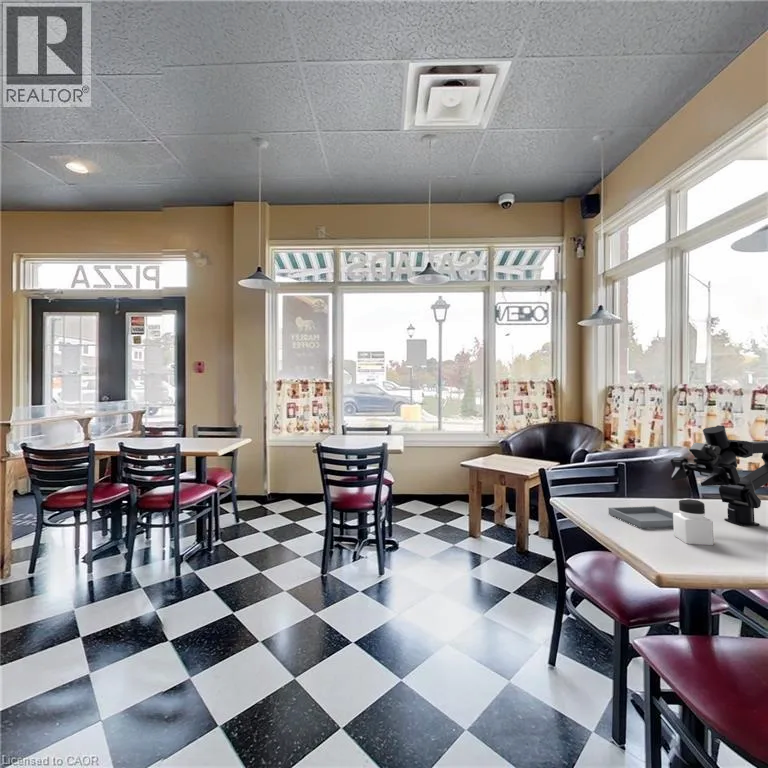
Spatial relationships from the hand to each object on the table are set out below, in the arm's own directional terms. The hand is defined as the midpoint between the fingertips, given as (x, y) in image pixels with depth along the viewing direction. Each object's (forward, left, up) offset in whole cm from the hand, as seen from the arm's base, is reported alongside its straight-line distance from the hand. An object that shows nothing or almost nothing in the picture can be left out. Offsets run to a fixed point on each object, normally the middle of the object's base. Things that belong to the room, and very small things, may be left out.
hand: (686, 481), depth 125 cm
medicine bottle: (+6, +8, -16) cm, 19 cm away
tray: (+5, -11, -16) cm, 20 cm away
